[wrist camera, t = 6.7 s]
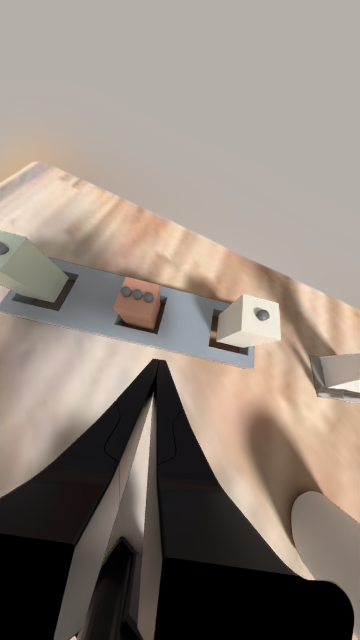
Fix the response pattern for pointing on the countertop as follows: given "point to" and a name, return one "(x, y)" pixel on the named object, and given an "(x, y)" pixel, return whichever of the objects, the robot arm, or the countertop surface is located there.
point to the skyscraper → (337, 377)
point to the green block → (28, 269)
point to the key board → (102, 319)
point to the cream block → (249, 322)
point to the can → (329, 544)
